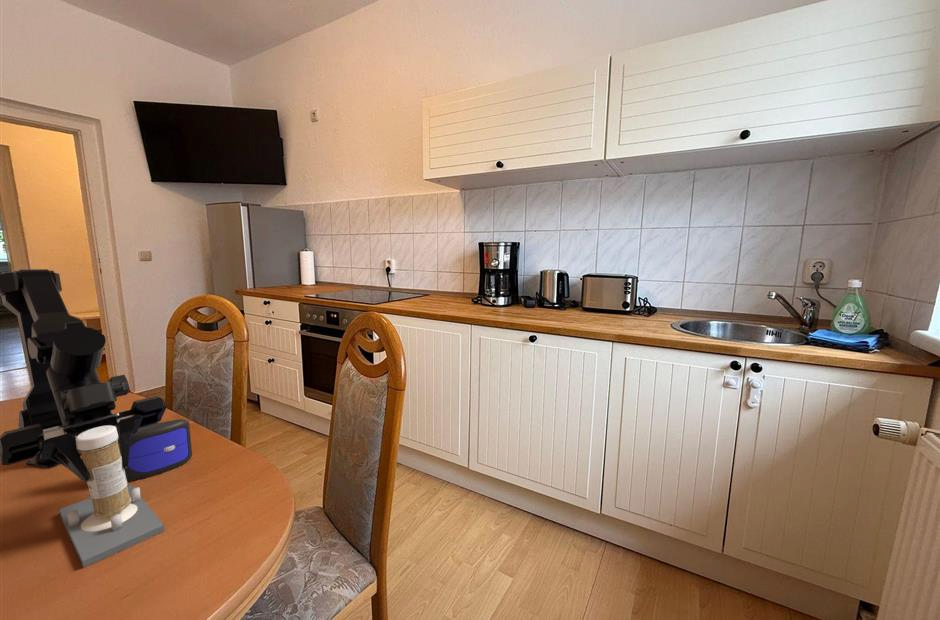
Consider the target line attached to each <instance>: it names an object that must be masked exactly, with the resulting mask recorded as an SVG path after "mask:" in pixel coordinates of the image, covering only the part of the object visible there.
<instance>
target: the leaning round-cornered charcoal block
mask: <svg viewBox="0 0 940 620" xmlns="http://www.w3.org/2000/svg"><path fill="white" fill-rule="evenodd" d="M192 456H193V449H192V437H191V425H190V422H189V421H188V420H187V419H182V418H179V419H178V418H177V419H174V420H167V421H159V422H158V423H156V424H152V425H149V426H145V427H141V428H139V429H138V431H137V432H136V433H135V434H132V435H131V439H130V450H129V461H128V467H127V468H125V469H124V470H125V474H126V479H127V482H133V481H137V480H141V479H145V478H146V479H147V478H149V477H152V476H156V475H159V474H162V473H163V474H164V473H165V472H167V471H168V472H169V471H170V470H174V469H176V468H178V467H181V466H183V465H184V464H186V463H188V462H189V461H190V460H191V459H192Z"/></svg>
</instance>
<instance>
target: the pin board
mask: <svg viewBox="0 0 940 620" xmlns="http://www.w3.org/2000/svg"><path fill="white" fill-rule="evenodd" d="M127 487H128V492H129V496H130V498H131V503H130V505H129V506H128V507H126V508H125V509H124V510H122V511H120V512H118V513H116V514H113V515H110V516H107V517H96V516H95V515H94V508H93V503H92V499H91V497H90V498H87V499H84V500H82V501H78V502H75V503H73V504H70V505H68V506H67V505H66V506H65V507H62V508H59V509H58V512H59V516H60V518H61V521H62V523H63V525H64V527H65V529H66V531H67V535H68V536H69V539H70V541H71V543H72V545H73V548H74V549H75V552H76V554H77V557H78V559H79V561H80V563H81V565H82V567H83V569H84V568H86V567H89V566H91V565H93V564H96V563H98V562H100V561H102V560H104V559H106V558H108V557H111V556H113V555H115V554H117V553H120V552H122V551H124V550H126V549H128V548H131V547H133V546H134V545H135V546H136V545H137V544H139V543H141V542H144V541H145V540H148V539H150V538H152V537H155V536H157V535H158V534H161V533H163V532H166V531H165V524H164V522H162V521H161V519H160V518H159V517H158V516H157V514H156V513H155V512H154V511H153V509H152V508H151V507H150V506H149V505H148V503H146V501H145V500H144V499H143V497H142V495H141V488H140V487H133V485H132V484H131V483H129V484H127Z"/></svg>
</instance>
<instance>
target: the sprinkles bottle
mask: <svg viewBox="0 0 940 620" xmlns="http://www.w3.org/2000/svg"><path fill="white" fill-rule="evenodd" d="M75 437H76V444H77V449H79V451H80V452H81V455H80V457H81V459H82V461H83V463H84V465H85V467H86V469H87V472H88V476H89V481H87V482H86V484H87V489H88V494H89V496H90V498H91V499H92V503H93V508H94V515H95V516H96V517H107V516H110V515H113V514H116V513H118V512H120V511H122V510H124V509H125V508H126V507H128V506H129V505H130V503H131V498H130V496H129V492H128V487H127V485H128V481H127V479H126V474H125V470H124V467H123V461H122V456H121V454H120V449H119V445H118V433H117V429H116V427H115V426H110V425H108V426H100V427H96V428H92V429H90V430H87V431H85V432H83V433H81V434H79V435H78V436H75Z"/></svg>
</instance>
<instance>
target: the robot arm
mask: <svg viewBox="0 0 940 620" xmlns="http://www.w3.org/2000/svg"><path fill="white" fill-rule="evenodd" d="M60 275H61V274H60V273H56V272H55V271H54V270H49V269H48V268H47V269H46V268H45V269H44V268H41V269H40V268H35V269H33V268H32V269H27V268H26V269H19V270H13V271H2V273H1V274H0V296H1V301H2V305H3V306H4V307H5V308H6V309H8V311H10V312H12V314H14V315H15V316H16V317H17V320H18V326H19V331H20V334H21V339H22V340H21V341H22V345H23V346H22V347H23V350H24V355H25V361H26V365H27V371H28V377H29V381H30V386H31V387H30V389H29V391H28V392H27V394H26V395H25V398H24V399H23V400H22V409H23V410H22V409H21V410H19V413H18V414H19V415H18V428H16V429H15V428H14V429H11V430H6V431H4V432H3V433H2V434H1V435H0V463H1V466H11V465H14V464H17V463H22V462H24V461H25V465H27V466H34V467H39V468H45V469H49V468H53V467H56V466H57V465H62V466H63V467H65V468H66V469H68V470H69V471H71V473H73V474H74V475H75V476H76V477H78V478H79V479H80V480H81V481H82V482H84V483H87V481H89V476H88V472H87V469H86V467H85V465H84V463H83V461H82V456H81V452H80V451H79V449H78V448H77V443H76V437H77V436H78V435H79V434H81V433H83V432H85V431H87V430H90V429H92V428H96V427H100V426H108V425H110V426H115V427H116V429H117V433H118V445H119V449H120V454H121V456H122V461H123V467H124V469H125V468H127V467H128V461H129V450H130V439H131V435H132V434H135V433H136V432H137V431H138V429H139V428H141V427H145V426H149V425H152V424H156V423H160V422H162V419H163V416H164V413H165V412H166V410H167V407H168V406H167V403H166V401H165V399H164V398H163V397H160V396H158V395H156V396H151V397H145V398H142V399H138V400H135V401H133V402H132V406H131V407H130V409H128V410H125V411H120V412H117V413H113V411H114V410H115V409H116V407H117V406H116V403H115V402H117V401H118V398H119V397H123V396H126V395H128V394H129V393H131V392H130V391H131V389H130V388H131V387H130V385H129V381H128V379H127V377H126V375H125V374H121V375H115V376H111V377H110V378H109V379H108V380H107V381H106V382H105V381H104V382H101V378H100V375H99V374H98V371H97V369H98V368H99V367H100V365H101V361H102V357H103V353H104V349H105V345H106V341H107V340H106V336H105V335H104V334H103V333H101V331H98V330H97V329H95V328H92V327H88V326H86V324H85V322H84V321H83V319H80V318H77V317H75V316H72V315H70V313H69V311H68V308H67V307H66V304H65V303H64V300H63V298H62V295H61V292H62V291H63V289H62V281H61V276H60Z"/></svg>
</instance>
